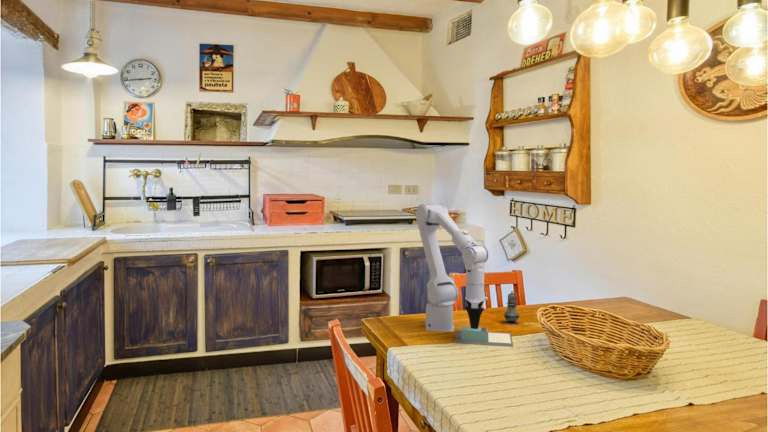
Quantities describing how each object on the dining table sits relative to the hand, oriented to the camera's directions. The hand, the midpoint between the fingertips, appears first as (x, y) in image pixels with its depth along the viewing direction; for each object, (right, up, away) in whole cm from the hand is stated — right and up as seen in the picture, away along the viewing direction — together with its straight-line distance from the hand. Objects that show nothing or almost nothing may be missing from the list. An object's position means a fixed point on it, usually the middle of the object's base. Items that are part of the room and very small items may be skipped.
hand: (474, 325), depth 159 cm
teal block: (0, -5, 0) cm, 5 cm away
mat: (+3, -5, +2) cm, 6 cm away
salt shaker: (+17, -4, +20) cm, 27 cm away
